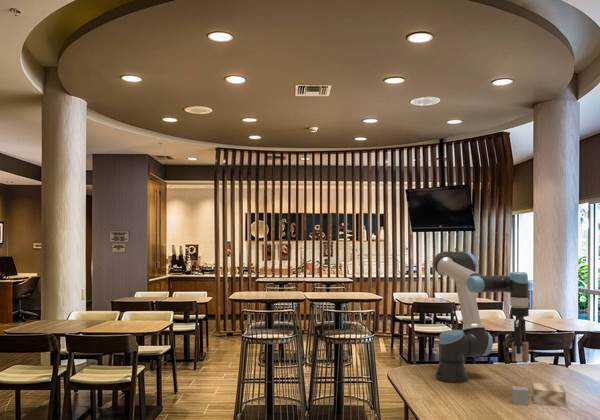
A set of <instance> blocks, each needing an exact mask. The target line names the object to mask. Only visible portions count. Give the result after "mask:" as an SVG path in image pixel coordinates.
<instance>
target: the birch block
mask: <svg viewBox="0 0 600 420" xmlns="http://www.w3.org/2000/svg"><path fill="white" fill-rule="evenodd" d="M566 395H567V394H566V390H565V387H564V386H563V385H559V384H549V383H539V382H532V399H533V400H532V401H533V402H534V405H535V404H536V405H545V406H554V407H555V406H556V407H565V408H566V407H567V404H566V402H567V396H566Z"/></svg>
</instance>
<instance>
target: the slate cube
mask: <svg viewBox="0 0 600 420" xmlns="http://www.w3.org/2000/svg"><path fill="white" fill-rule="evenodd" d="M529 391H530V390H529V389H528V387H527V386H518V385H511V401H512V404H513V405H523V406H529V405H530V403H529V401H530V400H529V399H530V398H529V396H530V395H529Z"/></svg>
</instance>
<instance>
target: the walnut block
mask: <svg viewBox="0 0 600 420" xmlns="http://www.w3.org/2000/svg"><path fill="white" fill-rule="evenodd" d="M513 344H514V341H512V342H511V362H518V363H528V362H529V361H530V350H529V349H530V346H529V345H530V344H529V341H526V342H522V360H523V361H522V362H520V361H516V353H515V346H513Z"/></svg>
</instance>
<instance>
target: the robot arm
mask: <svg viewBox="0 0 600 420" xmlns="http://www.w3.org/2000/svg"><path fill="white" fill-rule="evenodd" d="M432 260H433V261H432V267H433V270H434V271H435V273H437V274H439V275H441V276H447V277H449V278H451V279H452V280H453V281H454V282H455V287H456V291H457V297H458V303H459V310H460V314H461V318H462V324H463V327H462V329H448V330H444V331H441V332H440V333H439V339H438V343H439V346H438V347H439V349H438V351H439V353H438V354H439V356H438V357H439V359H438V360H439V362H438V365H437V369H436V371H435V379H436V380H438V381H441V382H446V383H454V384H455V383H465V382H467V381H468V380H469V379H468V373H467V370H466V367H465V364H464V362H465V359H464V358H470V357H478V358H479V357H485V356H488V355H490V354H491V352H492V349H493V346H494V345H493V344H494V340H493V335H491V333H490V332H488V331H486V328H485V326H484V325H482V321H481V317H480V313H479V311H480V310H479V308H478V302H477V296H476V294H479V293H509V295H510V297H509V299H510V303H509V306H511V307H510V308H509V309H510V316H512V317H515V320H514V321H513V329H514V330H513V331H514V332H513V333H514V335H513V340H514V344H513V346H515V353H516V361H520V362H519V363H523V362H522V361H523V360H522V342H527V339H526V338H527V336H526V332H527V331H526V329H527V328H526V319H525V318H526V317H529V316H530V313H529V311H530V310H529V308H528V307H529V303H530V300H531V299H529V279H528V273H527V272H524V271H511V272H510V273H509V275H504V274H502V275H500V274H499V275H482V274H480V273H477V270H478V261H477V258H476V257H475V254H472V253H471V252H469V251H441V252H439V253H437V254H436V255H435V256H434V258H433V259H432Z"/></svg>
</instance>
